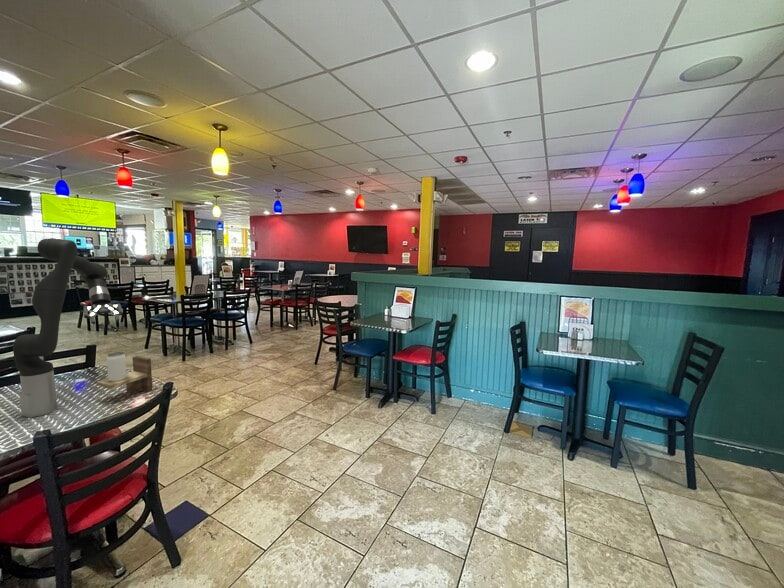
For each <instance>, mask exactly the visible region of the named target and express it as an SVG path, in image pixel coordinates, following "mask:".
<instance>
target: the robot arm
mask: <svg viewBox="0 0 784 588" xmlns="http://www.w3.org/2000/svg"><path fill="white" fill-rule="evenodd" d="M37 251H38V254H39V255H40V256H41V257H42V258H44V259H45V260H49V261H53V262H55V263H56V266H55V267H54V268H53V270H52V271H50V273H48V274H47V275H45V277H43V278H42V279H41V280H39V282H38V283H37V284H36V285H35V287H34V290H33V295H32V298H31V303H32V304H31V305H32V306H33V309H34V310H35V312H36V313H37V316H38V318H39V319H40V330H39V333H30V334H29V333H27V334H26V333H25V334H21V335H19V336H17V337H16V338H15V339H14V341H13V345H12V354H13V357H14V363H15V368H16V370H18V372H19V378H20V387H21V389H20V390H21V392H19V395H18V396H19V401H20V402H19V403H20V412H21V416H23V417H25V418H29V419H31V418H34V417H35V418H36V417H41V416H44V415H47V414H50V413H53V412H55V411H56V410H57V409H58V402H57V393H56V381H55V371H54V364H53V363H52V362H50V361H46V360H45V359H43V360H42V359H41V358H40V357H42V356H43V357H49V356H51V355H53V354H54V352H56V349H57V347H58V339H59V332H60V331H59V330H60V320H61V316H62V311H63V307H64V302H65V298H66V294H67V290H68V289H67V287H68V283H69V278H70V275H71V272H72V270H73V271H76V272H77V273H79V274H80V277H81V278H82V279H83V280H84V282H85V283H86V285H87V288H88V292H89V293H88V295H89V300H90V304H91V306H88V305H84V306H83V308H82V309H83V317H84V319H89V321H90V324H92V325H93V326H94V325H96V319H95V317H97V315H103V314H104V315H105V314H110V315H113V317H114V319H115V322H116V323H118V322H119V321H120V319H121V318H120V316H122V315H123V312H124V311H123V309H122V305H121V303H117V304H113V303H112V301H111V299H112V298H111V296H110V292H109V290H108V288H107V283H106V281H105V280H104V278H106V277H107V276H108V274H109V272H108V269H107V268H106V267H105V266H104V265H101V264H100V263H96V262H91V261H90V260H88V259H87V258H85V257H82V256H79V255H77V254H78V246H77V244H76V242H75V241H74V240H71V239H70V240H69V239H60V238H59V239H58V238H44V239H40V240H39V242H38V244H37ZM114 308H115V309H114ZM90 310H91V311H92V312H91V313H89V312H90Z"/></svg>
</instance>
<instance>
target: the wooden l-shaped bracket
mask: <svg viewBox="0 0 784 588" xmlns="http://www.w3.org/2000/svg"><path fill="white" fill-rule="evenodd" d="M152 377H153V373H152V360H151V358H149V357H143V356H138V355H136V356H132V371H129V372H127V377H126V378H125V379H124V380H120V381H115V382H111V381H109V380H108V378H105V379H101V380H98V381H96V386H99V387H102V388H107V389H114V388H117V387H121V386H122V385H123V386H124V385H125V387H126V395H128V396H130V395H132V393H133V394H135V393H138V392H141V391H144V392H148V391H149V392H151V391H153V390H154V389H153V378H152ZM140 390H141V391H140ZM150 390H151V391H150Z"/></svg>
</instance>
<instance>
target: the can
mask: <svg viewBox="0 0 784 588" xmlns="http://www.w3.org/2000/svg"><path fill="white" fill-rule="evenodd" d="M106 368H107V379H108V380H109V381H111V382H115V381H120V380H124V379H125V378H126V377H127V373H128V372H127V359H126V355H125V352H123V351H122V352H121V351H120V352H119V351H118V352H112V353H109V354H107V357H106Z"/></svg>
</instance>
